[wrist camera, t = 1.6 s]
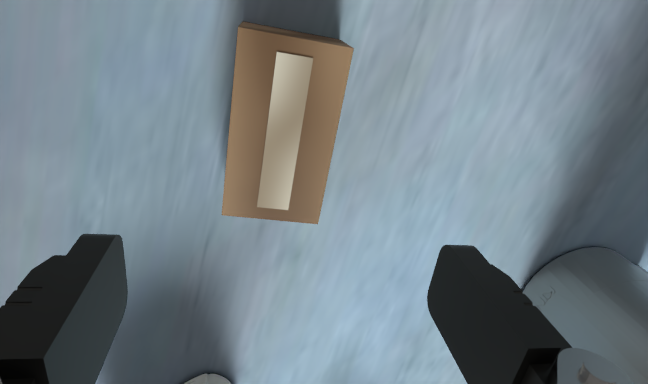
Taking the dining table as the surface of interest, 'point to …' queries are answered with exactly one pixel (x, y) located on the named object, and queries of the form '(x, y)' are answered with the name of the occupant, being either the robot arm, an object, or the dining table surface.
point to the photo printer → (208, 379)
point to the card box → (283, 122)
